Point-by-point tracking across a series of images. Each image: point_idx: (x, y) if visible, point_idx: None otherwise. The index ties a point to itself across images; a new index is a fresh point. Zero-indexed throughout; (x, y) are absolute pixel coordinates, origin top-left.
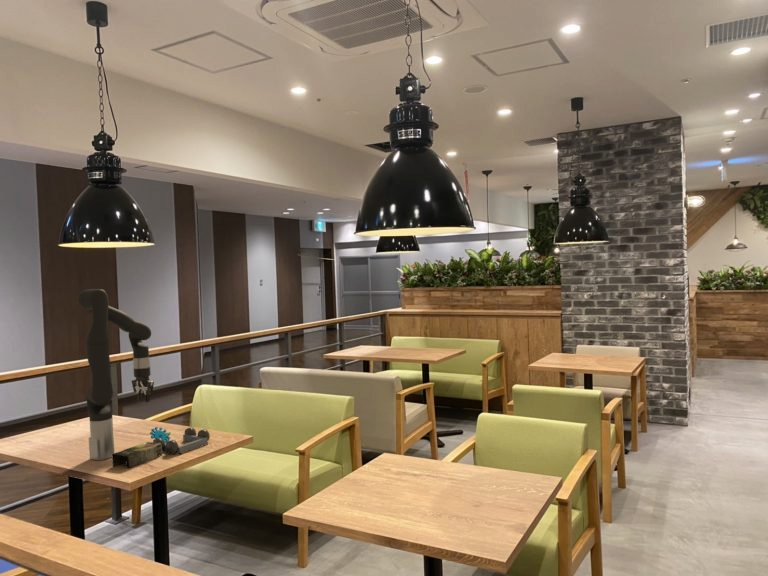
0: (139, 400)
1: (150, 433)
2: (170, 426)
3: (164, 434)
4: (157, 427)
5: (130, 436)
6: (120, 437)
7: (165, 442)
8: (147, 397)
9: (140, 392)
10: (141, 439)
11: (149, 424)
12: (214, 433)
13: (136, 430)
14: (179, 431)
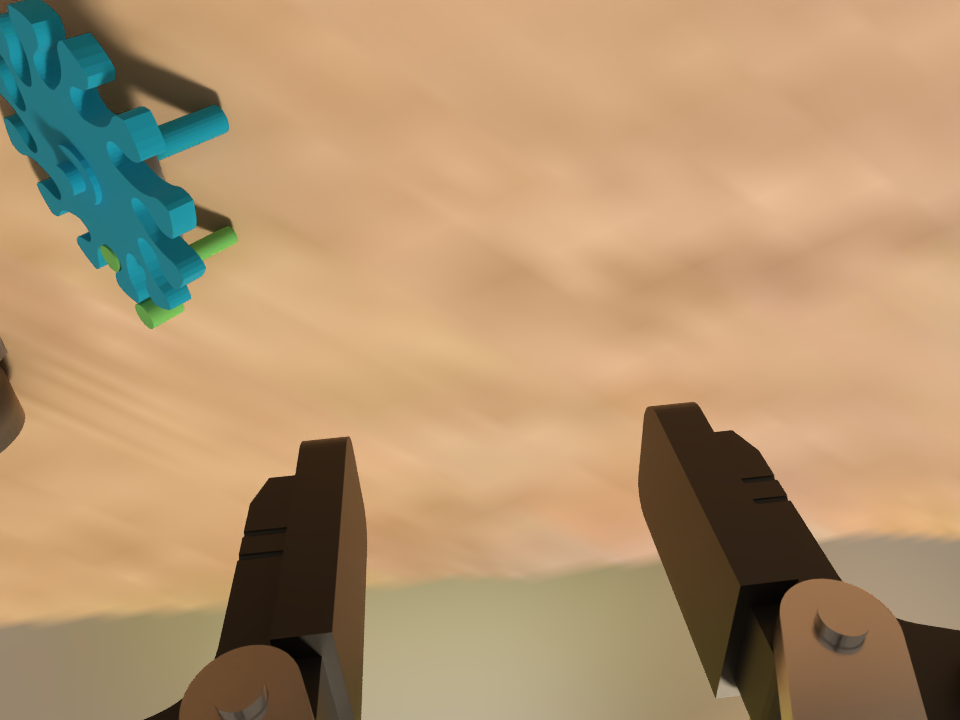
0: (652, 434)
1: (70, 39)
2: (644, 522)
3: (108, 235)
4: (168, 233)
5: (785, 135)
6: (887, 43)
7: (21, 152)
8: (237, 582)
9: (749, 691)
10: (534, 124)
11: (907, 471)
12: (30, 585)
13: (895, 307)
14: (407, 481)
